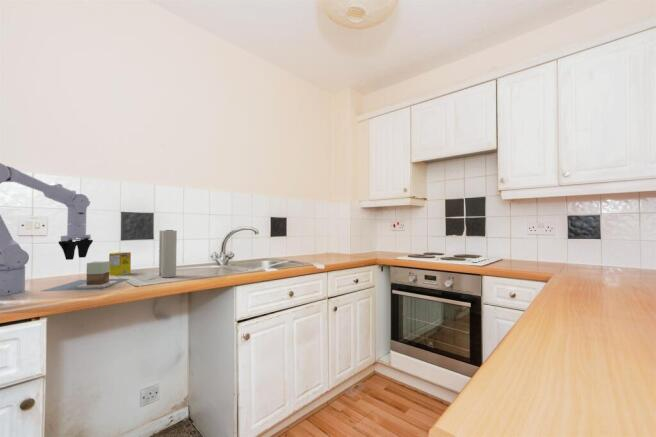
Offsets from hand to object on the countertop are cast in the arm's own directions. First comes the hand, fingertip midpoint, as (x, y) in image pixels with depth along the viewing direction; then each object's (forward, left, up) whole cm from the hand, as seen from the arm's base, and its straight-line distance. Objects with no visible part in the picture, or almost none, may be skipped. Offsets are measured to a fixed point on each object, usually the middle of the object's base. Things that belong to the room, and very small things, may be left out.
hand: (76, 258), depth 118 cm
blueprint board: (-5, -8, -10) cm, 14 cm away
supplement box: (+19, -7, -11) cm, 22 cm away
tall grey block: (+15, -29, -11) cm, 34 cm away
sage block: (-7, -12, -5) cm, 15 cm away
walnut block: (-7, -12, -9) cm, 17 cm away
